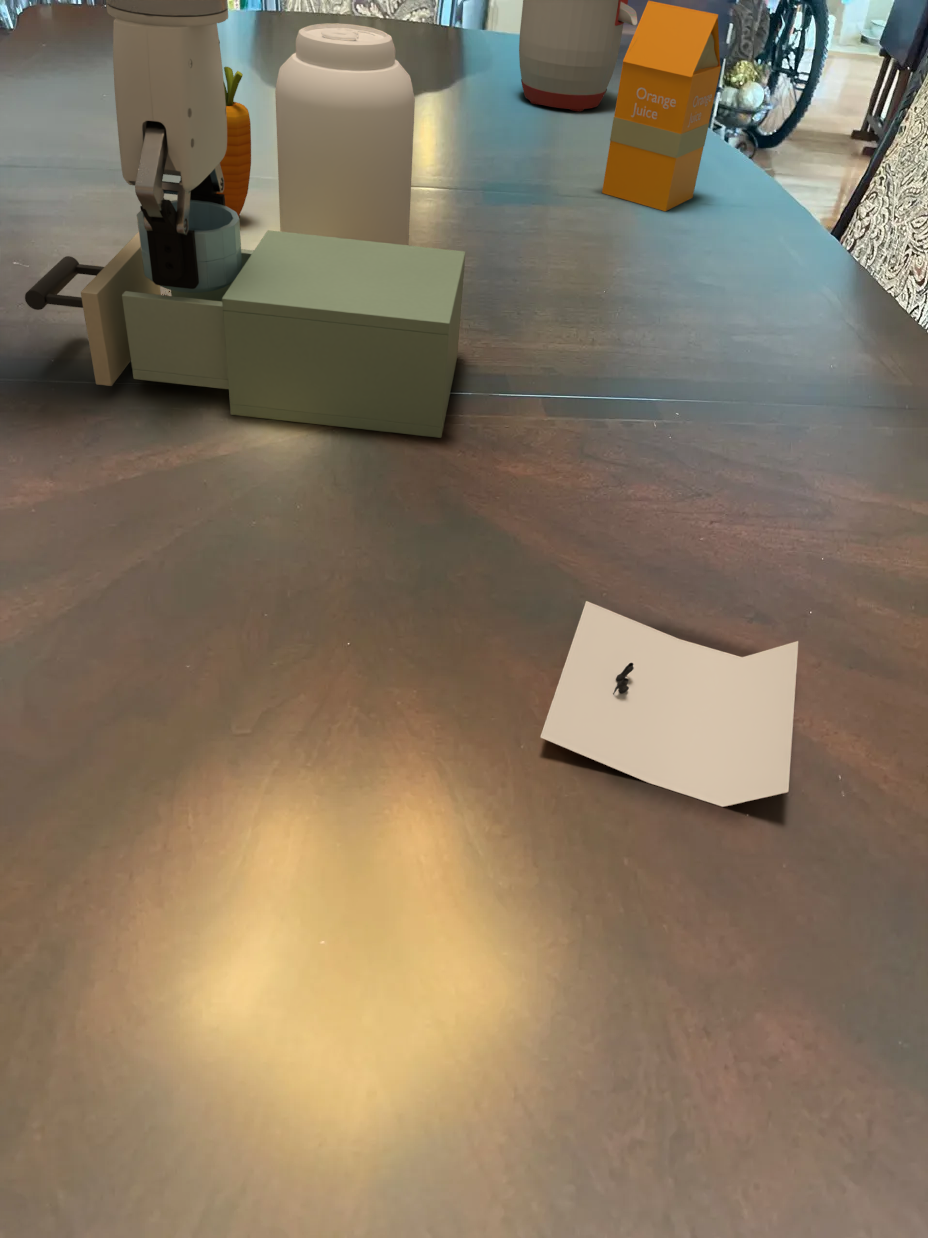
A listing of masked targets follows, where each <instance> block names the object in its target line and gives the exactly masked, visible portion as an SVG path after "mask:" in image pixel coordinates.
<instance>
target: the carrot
mask: <svg viewBox="0 0 928 1238" xmlns="http://www.w3.org/2000/svg"><path fill="white" fill-rule="evenodd" d="M223 72H224V76H225V80H226V84H225V82H224V90H225V102H226V116H227V149H226V153H225V156H224V158H223V159H222V161H221V162H220V166H221V170H222V174H223V178H224V190H223V193H219V192H217V194H224V195H225V206H227V207H229V208H230V209H232V210H234V211H235V212H237V215H238V217H240V215H241V214H242V213H241V212H242V210H243V209H244V206H245V202H246V200H247V195H248V193H249V192H248V191H249V185H250V178H251V167H252V130H251V129H252V128H251V124H252V123H251V117H250V111H249V109H248V108H247V106H245V105H244V104H243V103H240V102H236V101H235V96H236V93H237V90H238V87H239V84H240V82H241V81H242V78H243V76H244V75H243V73H242V72H241V71H239V70H237V71H236V72H235V73H234V72H233V69H232V67H229V66H224V67H223Z"/></svg>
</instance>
